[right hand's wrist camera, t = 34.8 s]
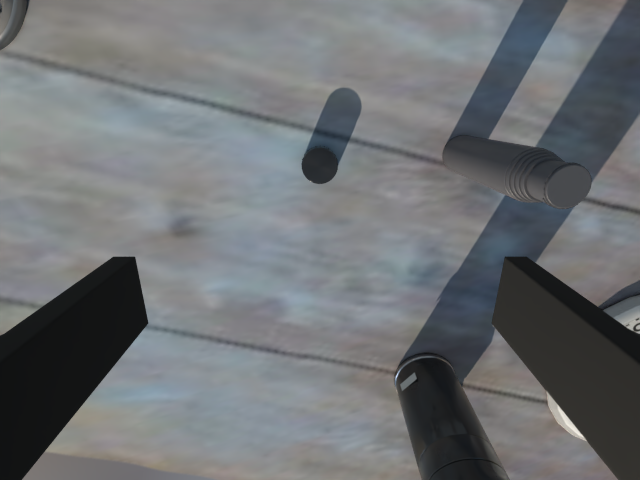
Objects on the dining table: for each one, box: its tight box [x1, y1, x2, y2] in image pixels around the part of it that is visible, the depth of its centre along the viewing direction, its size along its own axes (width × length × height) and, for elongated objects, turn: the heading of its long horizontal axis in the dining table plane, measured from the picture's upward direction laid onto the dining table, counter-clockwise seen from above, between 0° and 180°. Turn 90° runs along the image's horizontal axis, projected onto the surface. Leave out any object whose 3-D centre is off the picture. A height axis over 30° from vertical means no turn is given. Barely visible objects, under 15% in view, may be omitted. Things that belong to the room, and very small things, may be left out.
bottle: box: [443, 135, 591, 209], centre depth 34 cm, size 4×4×20 cm
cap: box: [302, 146, 338, 184], centre depth 43 cm, size 4×4×2 cm
